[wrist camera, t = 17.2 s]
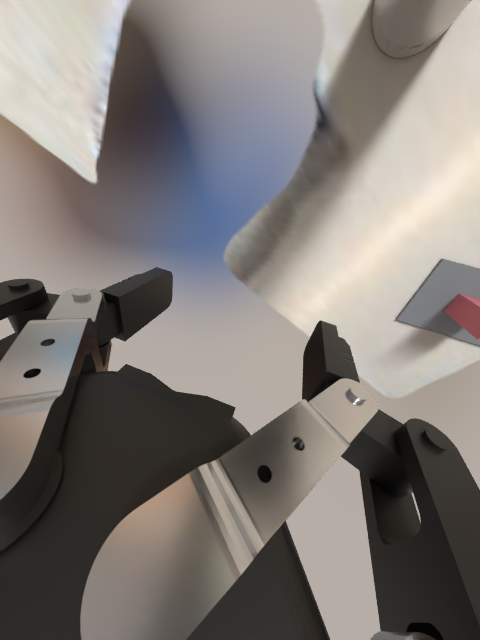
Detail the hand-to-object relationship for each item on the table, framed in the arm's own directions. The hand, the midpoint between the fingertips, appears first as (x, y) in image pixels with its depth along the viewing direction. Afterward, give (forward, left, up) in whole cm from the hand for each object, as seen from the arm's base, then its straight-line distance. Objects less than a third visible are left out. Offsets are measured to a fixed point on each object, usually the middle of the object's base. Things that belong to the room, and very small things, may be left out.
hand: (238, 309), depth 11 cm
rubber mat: (+4, +33, -32) cm, 46 cm away
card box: (+4, +33, -32) cm, 46 cm away
